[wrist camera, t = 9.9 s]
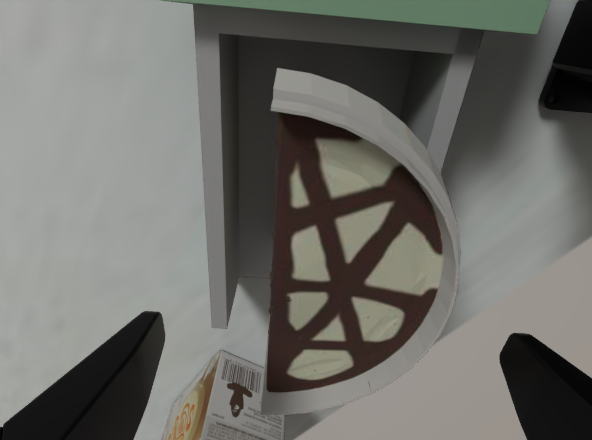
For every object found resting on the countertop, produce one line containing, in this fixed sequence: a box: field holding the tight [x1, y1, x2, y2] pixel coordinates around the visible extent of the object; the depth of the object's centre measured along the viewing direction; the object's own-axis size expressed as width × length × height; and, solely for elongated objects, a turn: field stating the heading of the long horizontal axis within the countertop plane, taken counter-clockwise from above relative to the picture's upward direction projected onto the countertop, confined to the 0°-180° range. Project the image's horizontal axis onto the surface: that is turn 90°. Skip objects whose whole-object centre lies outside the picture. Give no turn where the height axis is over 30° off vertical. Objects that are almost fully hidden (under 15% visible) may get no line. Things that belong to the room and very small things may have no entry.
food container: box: [261, 68, 461, 415], centre depth 15 cm, size 12×6×10 cm, turn 176°
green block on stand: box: [163, 0, 550, 329], centre depth 15 cm, size 12×21×6 cm, turn 175°
